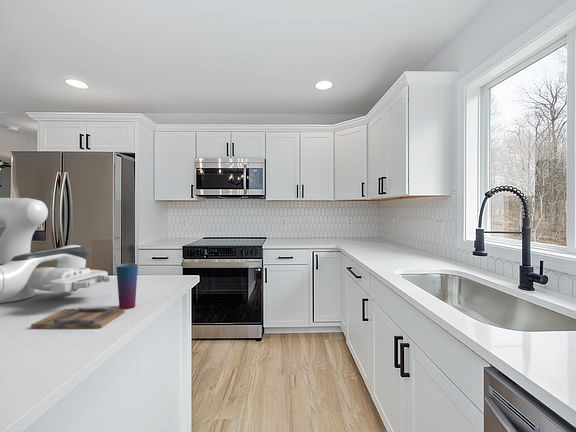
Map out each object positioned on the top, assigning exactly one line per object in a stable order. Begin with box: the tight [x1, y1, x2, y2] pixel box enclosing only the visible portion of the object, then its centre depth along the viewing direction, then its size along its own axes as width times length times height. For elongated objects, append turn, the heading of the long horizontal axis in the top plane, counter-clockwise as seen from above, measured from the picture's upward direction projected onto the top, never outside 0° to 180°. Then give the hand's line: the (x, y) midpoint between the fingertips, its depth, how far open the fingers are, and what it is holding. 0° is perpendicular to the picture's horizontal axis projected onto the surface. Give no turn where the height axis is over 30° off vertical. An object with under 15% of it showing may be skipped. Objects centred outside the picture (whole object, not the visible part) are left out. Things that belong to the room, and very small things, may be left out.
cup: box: [115, 263, 139, 310], centre depth 111 cm, size 7×7×15 cm
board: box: [30, 307, 126, 329], centre depth 98 cm, size 20×14×2 cm
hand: (99, 282), depth 114 cm, fingers open, 8 cm apart
